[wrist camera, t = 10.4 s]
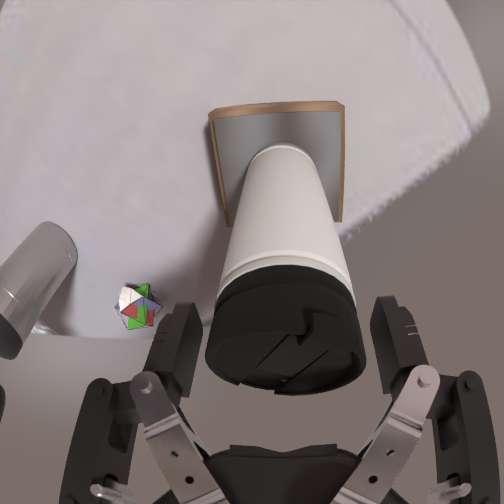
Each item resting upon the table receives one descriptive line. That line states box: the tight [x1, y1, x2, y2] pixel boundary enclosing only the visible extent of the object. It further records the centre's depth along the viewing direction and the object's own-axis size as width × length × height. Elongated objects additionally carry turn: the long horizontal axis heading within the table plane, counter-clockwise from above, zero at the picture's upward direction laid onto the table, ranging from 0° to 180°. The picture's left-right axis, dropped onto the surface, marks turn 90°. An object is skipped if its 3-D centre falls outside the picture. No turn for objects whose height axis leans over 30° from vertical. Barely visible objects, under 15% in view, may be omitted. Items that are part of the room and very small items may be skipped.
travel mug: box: [205, 142, 366, 396], centre depth 18 cm, size 6×7×20 cm
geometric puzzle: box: [114, 283, 163, 330], centre depth 40 cm, size 7×7×8 cm
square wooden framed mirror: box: [208, 101, 345, 227], centre depth 27 cm, size 12×12×4 cm
